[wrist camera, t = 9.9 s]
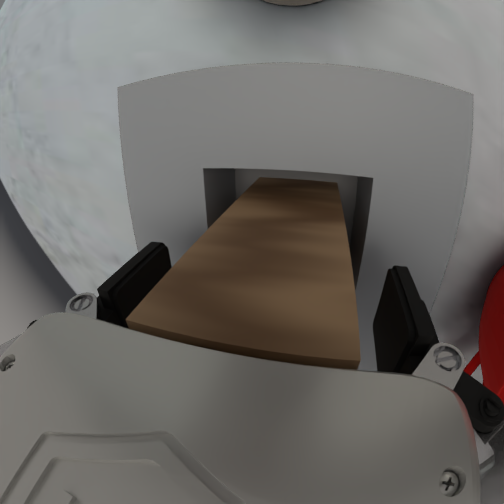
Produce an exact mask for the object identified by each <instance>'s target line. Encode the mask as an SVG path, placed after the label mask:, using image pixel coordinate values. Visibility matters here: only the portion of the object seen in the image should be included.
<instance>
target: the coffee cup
mask: <svg viewBox="0 0 504 504" xmlns="http://www.w3.org/2000/svg"><path fill="white" fill-rule="evenodd" d="M263 1H266V2H269V3H273V4H278V5H287V6H298V5H306V4H312V3H315V2H319V1H321V0H263Z"/></svg>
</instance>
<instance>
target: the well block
mask: <svg viewBox="0 0 504 504" xmlns="http://www.w3.org/2000/svg"><path fill="white" fill-rule="evenodd" d="M118 110H119V126H120V138H121V148H122V158H123V166H124V174H125V182H126V189H127V195H128V201H129V207H130V213H131V219H132V224H133V230H134V235H135V240H136V244H137V249H138V252H139V251H141V250H142V249H143V248H144V247H145V246H147V245H148V244H149V243H150V242H162V243H164V244H165V246H167V247H168V249H169V255H170V260H171V266H172V267H173V266H174V264H175V263H176V262H177V261H178V260H179V259H180V258H181V257H182V256H183V255H184V254H185V253H186V252H187V251H188V249H189V248H190V247H191V246H192V245H193V244H194V243H195V242H196V241H197V240H198V239H199V238H200V237H201V236H202V235H203V234H204V233H205V232H206V231H207V230H208V228H209V227H210V226H211V225H212V224H213V223H214V222H215V221H216V220H217V219H218V218H219V217H220V216H221V215H222V214H223V213H224V212H225V211H226V210H227V209H228V208H229V207H230V206H231V205H232V204H233V203H234V202H235V201H236V200H237V199H238V198H239V197H240V196H241V195H242V194H243V193H244V192H245V191H246V190H247V189H248V188H249V187H250V186H251V185H252V184H253V183H254V182H255V181H256V180H257V179H258V178H259V177H268V178H286V179H301V180H314V181H326V182H336V183H337V184H338V189H339V194H340V198H341V203H342V209H343V214H344V219H345V225H346V231H347V237H348V243H349V249H350V256H351V263H352V270H353V278H354V286H355V294H356V304H357V314H358V325H359V339H360V355H361V361H360V364H359V366H358V369H357V370H366V371H377V363H376V353H375V344H374V335H373V321H374V317H375V314H376V311H377V307H378V304H379V301H380V297H381V293H382V290H383V286H384V282H385V279H386V275H387V271H388V269H389V268H390V269H392V267H393V266H394V265H396V266H406V267H408V269H409V272H410V274H411V276H412V279H413V281H414V283H415V286H416V288H417V290H418V293H419V295H420V298H421V300H423V301H424V303H425V305H426V307H427V310H428V313H430V311H431V309H432V306H433V304H434V301H435V298H436V296H437V293H438V290H439V288H440V285H441V282H442V279H443V276H444V273H445V270H446V267H447V264H448V261H449V258H450V254H451V251H452V247H453V244H454V240H455V236H456V233H457V229H458V224H459V220H460V216H461V211H462V206H463V201H464V196H465V191H466V185H467V178H468V172H469V164H470V155H471V145H472V131H473V94H471V93H468V92H465V91H462V90H459V89H456V88H453V87H450V86H447V85H443V84H440V83H436V82H433V81H429V80H425V79H421V78H417V77H413V76H408V75H403V74H399V73H393V72H388V71H382V70H376V69H369V68H362V67H354V66H344V65H333V64H318V63H257V64H242V65H230V66H220V67H212V68H205V69H198V70H191V71H185V72H180V73H174V74H169V75H164V76H160V77H155V78H151V79H147V80H143V81H139V82H135V83H131V84H128V85H124V86H121V87H118Z"/></svg>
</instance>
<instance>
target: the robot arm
mask: <svg viewBox="0 0 504 504" xmlns="http://www.w3.org/2000/svg"><path fill="white" fill-rule="evenodd" d="M171 268H172V266H171V260H170V255H169V249H168V247H167V246H165V244H164V243H162V242H150V243H149V244H148V245H147V246H145V247H144V248H143V249H142V250H141V251H139V252H138V253H137V254H136V255H135V256H134V257H132V258H131V259H130V260H129V261H128V262H127V263H125V264H124V265H123V266H122V267H121V268H120V269H119V270H118V271H116V272H115V273H114V274H113V275H112V276H111V277H110V278H109V279H107V280H106V281H105V282H104V283H103V284H102V285H101V286H100V287H99V288H98V289H97V290H98V293H99V296H98V297H96V296H95V295H94V294H93V293H87V292H86V293H81V294H78V295H76V296H74V297H73V298H72V299H70V300H69V302H68V303H67V306H66V311H65V312H63V313H52V314H48V315H45V316H43V317H41V318H40V319H38V320H35V321H33V322H32V323H30V325H29V326H28V328H27V329H26V330H25V332H23V333H22V334H21V335H19V336H17V337H15V338H13V339H11V340H10V341H8V342H6V343H4V344H2V345H1V346H0V504H503V503H504V404H503V402H502V400H501V399H500V398H499V397H498V396H497V395H496V394H495V393H493V392H492V391H491V390H489V389H488V388H487V387H485V386H484V385H482V384H481V383H480V382H478V381H477V380H475V379H474V378H473V377H471V376H470V375H468V374H467V373H466V372H464V371H463V370H464V367H465V358H464V356H463V354H462V352H461V351H460V350H459V349H458V348H457V347H455V346H454V345H451V344H449V343H439V340H438V337H437V334H436V332H435V329H434V326H433V323H432V321H431V318H430V315H429V313H428V310H427V307H426V305H425V303H424V301H423V300H421V298H420V295H419V293H418V290H417V288H416V286H415V283H414V281H413V279H412V276H411V274H410V272H409V269H408V267H406V266H396V265H394V266H393V267H392V269H390V268H389V269H388V271H387V275H386V279H385V282H384V286H383V290H382V293H381V297H380V301H379V304H378V307H377V311H376V314H375V317H374V321H373V335H374V344H375V353H376V363H377V371H366V370H354V369H341V368H329V367H319V366H310V365H302V364H294V363H287V362H280V361H273V360H267V359H260V358H254V357H249V356H243V355H237V354H232V353H227V352H222V351H217V350H212V349H207V348H203V347H198V346H194V345H189V344H185V343H181V342H177V341H173V340H169V339H165V338H161V337H157V336H153V335H150V334H146V333H142V332H139V331H135V330H132V329H129V327H128V325H127V322H126V318H127V317H128V316H129V315H130V314H131V313H132V311H133V310H134V309H135V308H136V307H137V306H138V305H139V303H140V302H141V301H142V300H143V299H144V298H145V297H146V295H147V294H148V293H149V292H150V291H151V290H152V289H153V288H154V286H155V285H156V284H157V283H158V282H159V281H160V280H161V279H162V278H163V277H164V275H165V274H166V273H167V272H168V271H169V270H170V269H171Z"/></svg>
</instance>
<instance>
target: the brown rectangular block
mask: <svg viewBox="0 0 504 504" xmlns="http://www.w3.org/2000/svg"><path fill="white" fill-rule="evenodd" d="M126 322H127V325H128V327H129V329H132V330H135V331H139V332H142V333H146V334H150V335H153V336H157V337H161V338H165V339H169V340H173V341H177V342H181V343H185V344H189V345H194V346H198V347H203V348H207V349H212V350H217V351H222V352H227V353H232V354H237V355H243V356H249V357H254V358H260V359H267V360H273V361H280V362H287V363H294V364H302V365H310V366H319V367H329V368H341V369H354V370H357V369H358V366H359V364H360V361H361V355H360V339H359V325H358V314H357V304H356V294H355V286H354V278H353V270H352V263H351V256H350V249H349V243H348V237H347V231H346V225H345V219H344V214H343V209H342V203H341V198H340V194H339V189H338V184H337V183H336V182H326V181H314V180H301V179H286V178H268V177H259V178H258V179H257V180H256V181H255V182H254V183H253V184H252V185H251V186H250V187H249V188H248V189H247V190H246V191H245V192H244V193H243V194H242V195H241V196H240V197H239V198H238V199H237V200H236V201H235V202H234V203H233V204H232V205H231V206H230V207H229V208H228V209H227V210H226V211H225V212H224V213H223V214H222V215H221V216H220V217H219V218H218V219H217V220H216V221H215V222H214V223H213V224H212V225H211V226H210V227H209V228H208V230H207V231H206V232H205V233H204V234H203V235H202V236H201V237H200V238H199V239H198V240H197V241H196V242H195V243H194V244H193V245H192V246H191V247H190V248H189V249H188V251H187V252H186V253H185V254H184V255H183V256H182V257H181V258H180V259H179V260H178V261H177V262H176V263H175V264H174V266H173V267H172V268H171V269H170V270H169V271H168V272H167V273H166V274H165V275H164V277H163V278H162V279H161V280H160V281H159V282H158V283H157V284H156V285H155V286H154V288H153V289H152V290H151V291H150V292H149V293H148V294H147V295H146V297H145V298H144V299H143V300H142V301H141V302H140V303H139V305H138V306H137V307H136V308H135V309H134V310H133V311H132V313H131V314H130V315H129V316H128V317H127V318H126Z"/></svg>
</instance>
